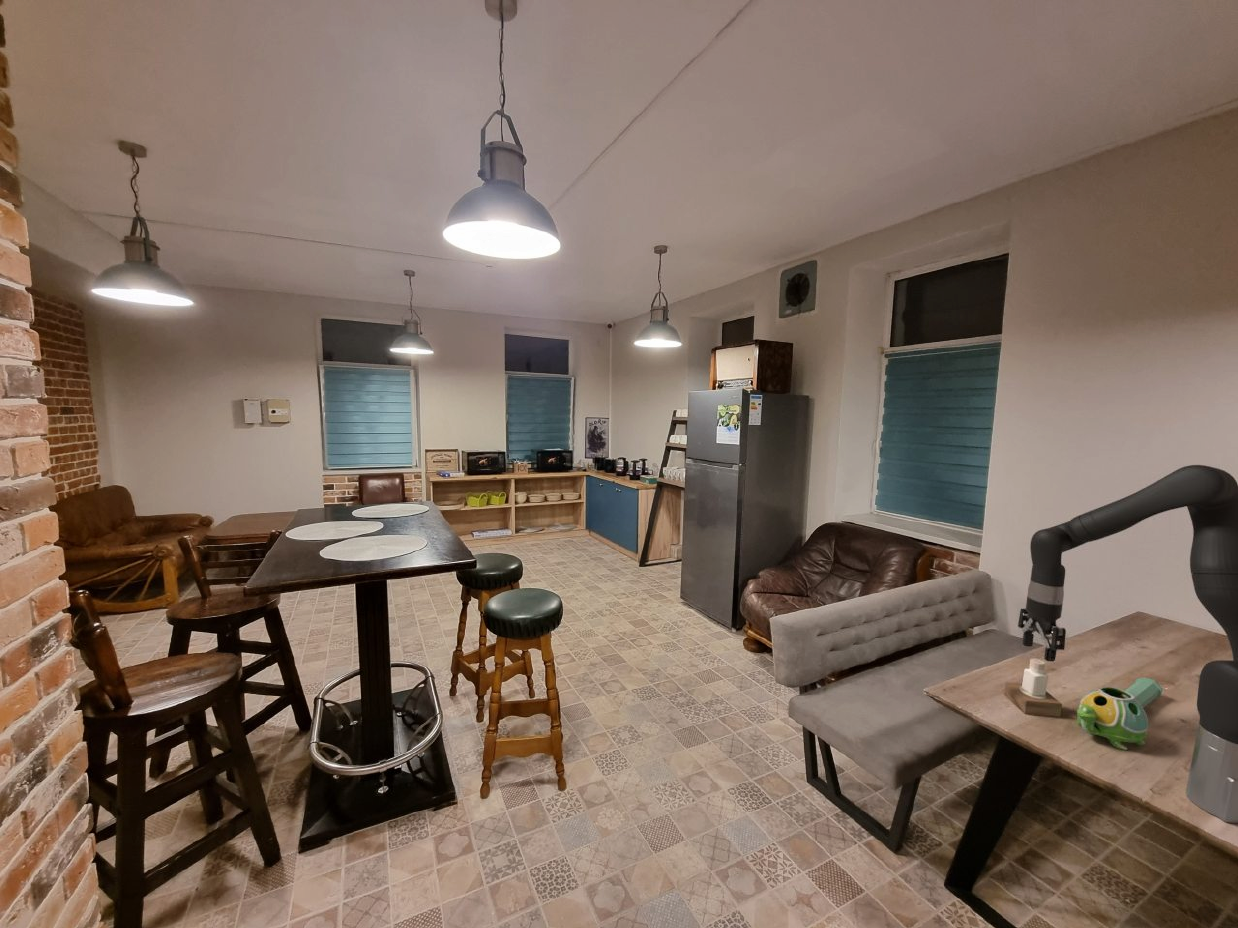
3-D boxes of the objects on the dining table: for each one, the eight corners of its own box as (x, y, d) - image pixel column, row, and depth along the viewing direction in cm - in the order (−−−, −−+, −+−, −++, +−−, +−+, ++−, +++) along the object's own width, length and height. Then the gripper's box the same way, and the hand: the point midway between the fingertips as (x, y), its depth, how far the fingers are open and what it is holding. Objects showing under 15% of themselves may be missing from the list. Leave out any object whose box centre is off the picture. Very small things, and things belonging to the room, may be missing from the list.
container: (1126, 703, 133) (1158, 678, 145) (1098, 700, 138) (1131, 675, 150) (1135, 727, 132) (1166, 699, 144) (1106, 722, 137) (1139, 696, 149)
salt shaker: (1034, 688, 142) (1039, 657, 141) (1046, 696, 138) (1050, 665, 137) (1020, 687, 142) (1024, 657, 141) (1031, 696, 138) (1036, 664, 137)
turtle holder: (1050, 724, 133) (1056, 683, 131) (1102, 716, 137) (1108, 676, 135) (1103, 756, 121) (1110, 712, 119) (1158, 747, 125) (1166, 704, 123)
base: (1060, 716, 136) (1062, 703, 135) (1024, 713, 137) (1026, 699, 136) (1036, 697, 145) (1038, 684, 144) (1003, 694, 146) (1005, 681, 145)
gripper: (1080, 609, 129) (1072, 667, 131) (1040, 589, 143) (1034, 642, 145) (1049, 607, 130) (1041, 665, 132) (1013, 587, 144) (1006, 640, 146)
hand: (1037, 652), depth 138 cm, fingers open, 8 cm apart
